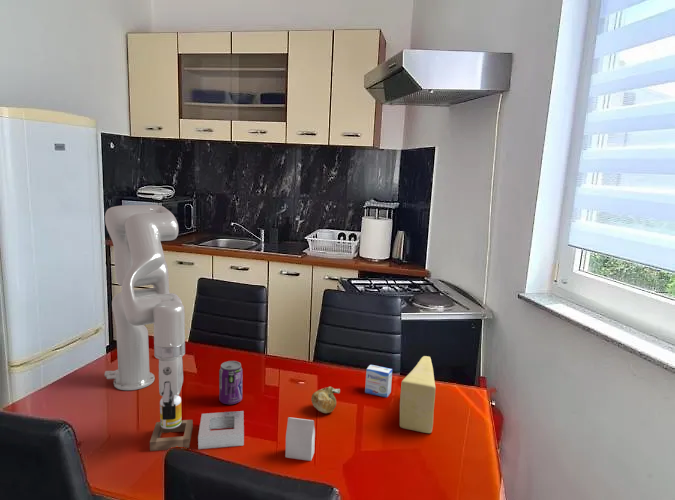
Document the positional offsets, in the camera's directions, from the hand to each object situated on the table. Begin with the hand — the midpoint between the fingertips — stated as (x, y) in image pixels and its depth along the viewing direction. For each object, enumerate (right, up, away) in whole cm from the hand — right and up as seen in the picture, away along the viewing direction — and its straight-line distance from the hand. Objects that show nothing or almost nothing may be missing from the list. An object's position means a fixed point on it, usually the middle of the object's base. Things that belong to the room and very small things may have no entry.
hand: (170, 411), depth 123 cm
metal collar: (+13, -8, +3) cm, 15 cm away
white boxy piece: (+35, -10, -4) cm, 36 cm away
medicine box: (+58, -5, +31) cm, 66 cm away
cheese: (+70, -7, +19) cm, 73 cm away
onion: (+40, -6, +18) cm, 45 cm away
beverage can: (+11, -4, +22) cm, 25 cm away
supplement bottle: (0, -4, +1) cm, 4 cm away
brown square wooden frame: (0, -8, +1) cm, 8 cm away
